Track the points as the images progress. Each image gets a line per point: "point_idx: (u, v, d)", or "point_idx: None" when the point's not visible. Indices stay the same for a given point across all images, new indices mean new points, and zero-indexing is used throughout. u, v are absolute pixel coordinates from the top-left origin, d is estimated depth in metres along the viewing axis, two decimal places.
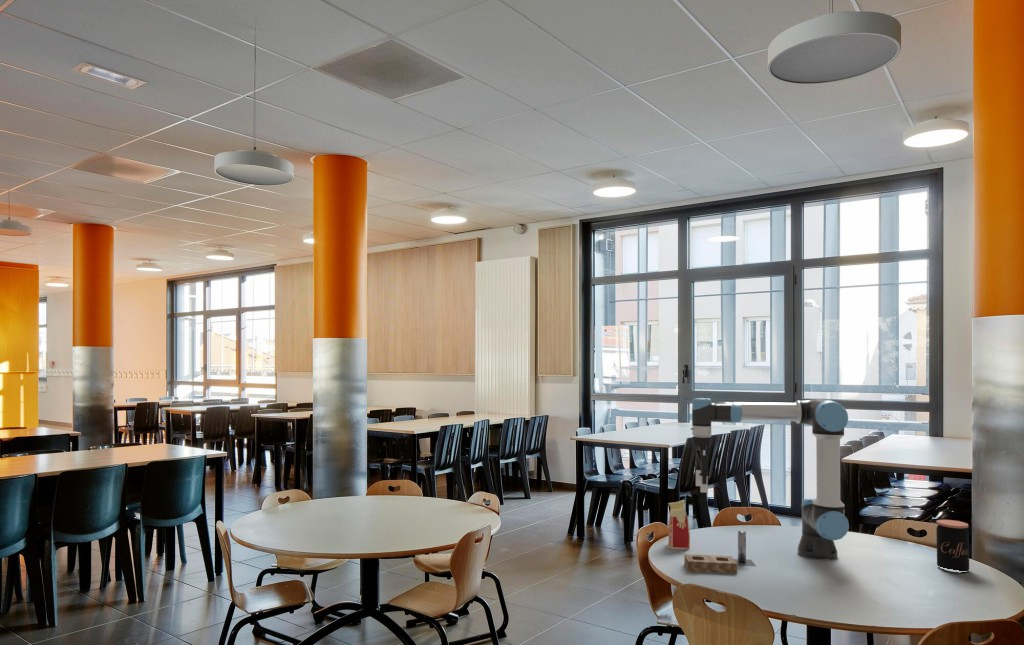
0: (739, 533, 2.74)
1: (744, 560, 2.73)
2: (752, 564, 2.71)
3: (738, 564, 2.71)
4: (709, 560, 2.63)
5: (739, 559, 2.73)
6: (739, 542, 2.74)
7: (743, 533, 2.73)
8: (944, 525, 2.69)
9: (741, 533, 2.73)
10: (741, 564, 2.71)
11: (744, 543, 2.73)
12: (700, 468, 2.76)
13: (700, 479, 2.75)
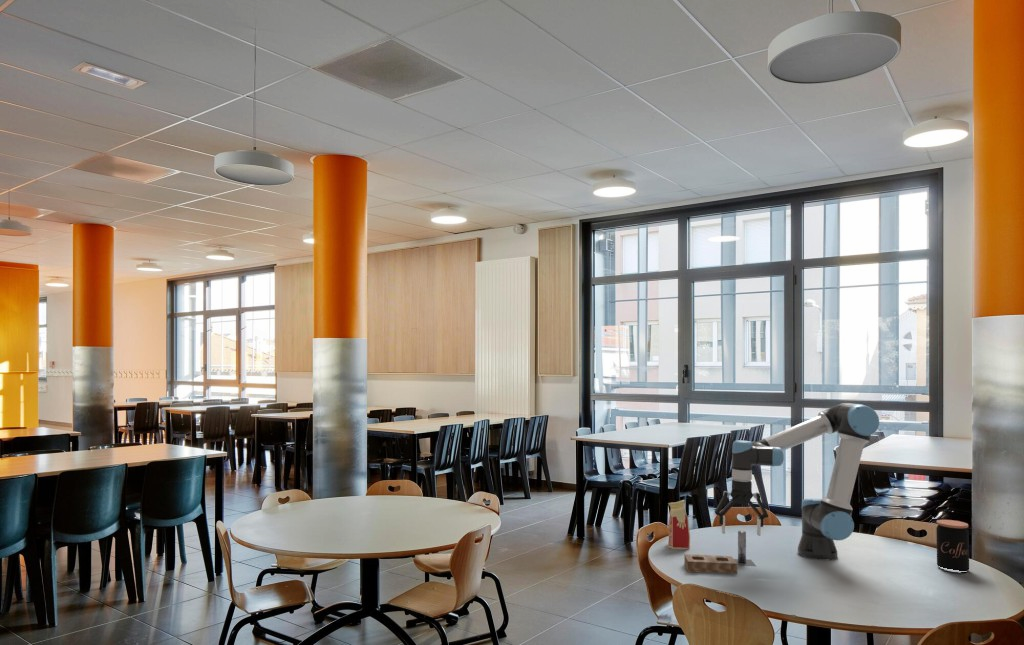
0: (739, 533, 2.74)
1: (744, 560, 2.73)
2: (752, 564, 2.71)
3: (738, 564, 2.71)
4: (709, 560, 2.63)
5: (739, 559, 2.73)
6: (739, 542, 2.74)
7: (743, 533, 2.73)
8: (944, 525, 2.69)
9: (741, 533, 2.73)
10: (741, 564, 2.71)
11: (744, 543, 2.73)
12: None
13: None
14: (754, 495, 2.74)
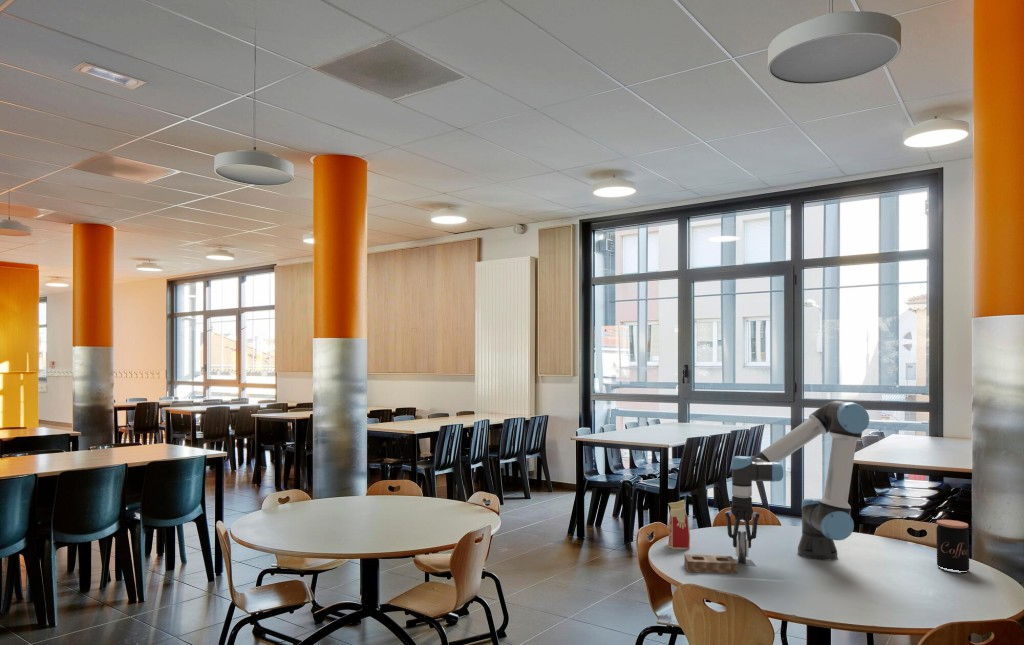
0: (739, 533, 2.74)
1: (744, 560, 2.73)
2: (752, 564, 2.71)
3: (738, 564, 2.71)
4: (709, 560, 2.63)
5: (739, 559, 2.73)
6: (739, 542, 2.74)
7: (743, 533, 2.73)
8: (944, 525, 2.69)
9: (741, 533, 2.73)
10: (741, 564, 2.71)
11: (744, 543, 2.73)
12: None
13: None
14: (754, 513, 2.74)
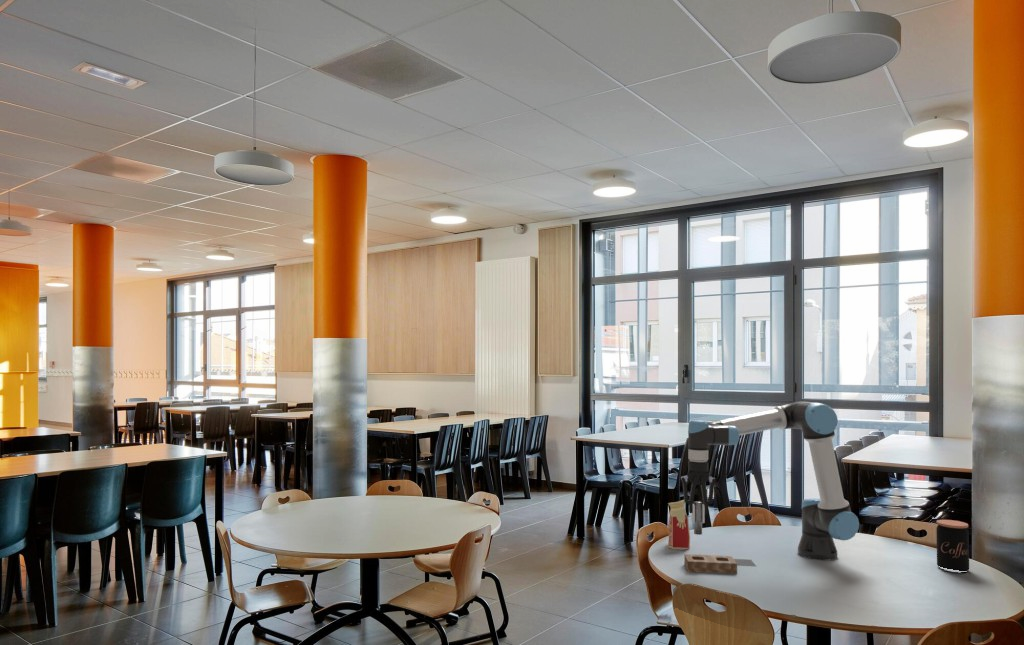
0: (695, 503, 2.67)
1: (700, 531, 2.65)
2: (752, 564, 2.71)
3: (738, 564, 2.71)
4: (709, 560, 2.63)
5: (695, 530, 2.66)
6: (695, 513, 2.66)
7: (699, 503, 2.66)
8: (944, 525, 2.69)
9: (697, 503, 2.66)
10: (741, 564, 2.71)
11: (700, 514, 2.66)
12: None
13: None
14: (710, 478, 2.67)
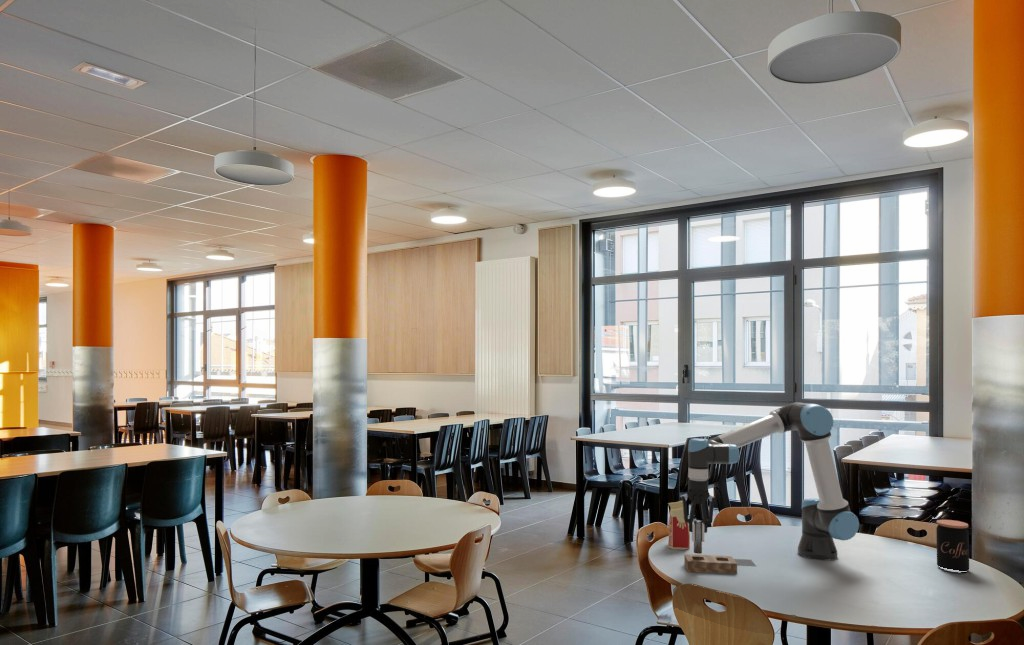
0: (695, 522, 2.66)
1: (700, 550, 2.65)
2: (752, 564, 2.71)
3: (738, 564, 2.71)
4: (709, 560, 2.63)
5: (695, 549, 2.66)
6: (695, 532, 2.66)
7: (699, 522, 2.66)
8: (944, 525, 2.69)
9: (697, 522, 2.66)
10: (741, 564, 2.71)
11: (700, 533, 2.65)
12: None
13: None
14: (710, 497, 2.67)
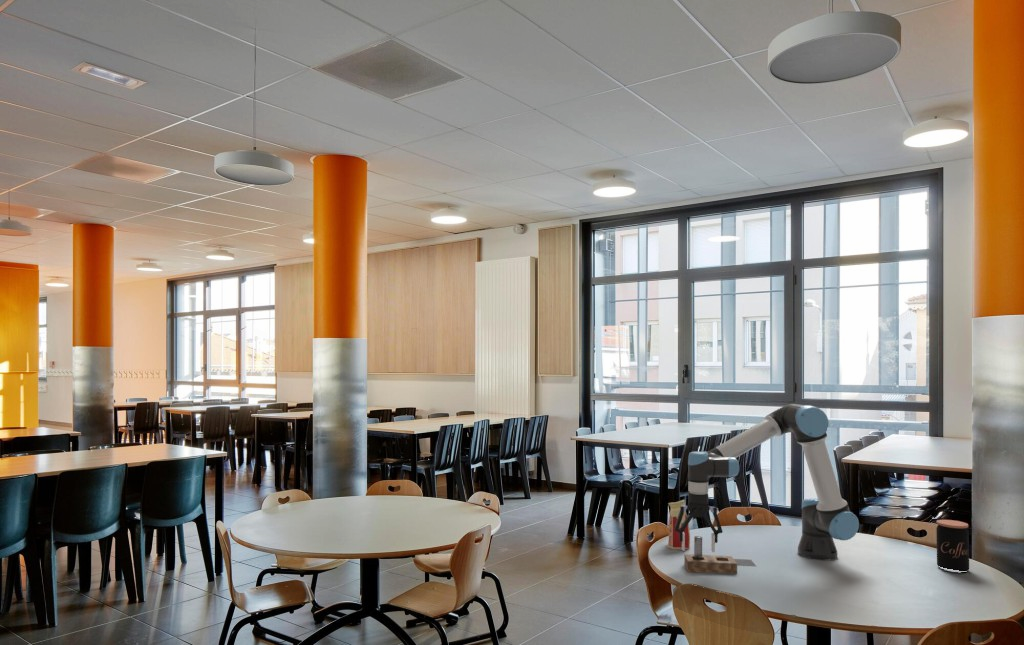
0: (695, 539, 2.66)
1: None
2: (752, 564, 2.71)
3: (738, 564, 2.71)
4: (709, 560, 2.63)
5: None
6: (695, 548, 2.66)
7: (699, 539, 2.65)
8: (944, 525, 2.69)
9: (697, 539, 2.65)
10: (741, 564, 2.71)
11: (700, 549, 2.65)
12: None
13: None
14: (711, 509, 2.66)
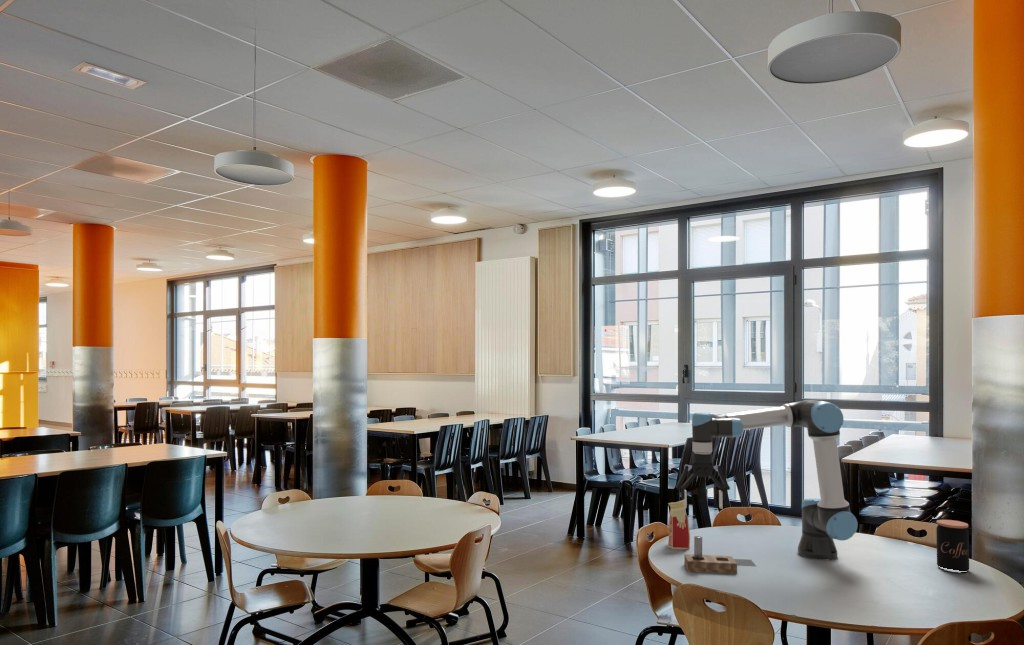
0: (695, 539, 2.66)
1: None
2: (752, 564, 2.71)
3: (738, 564, 2.71)
4: (709, 560, 2.63)
5: None
6: (695, 548, 2.66)
7: (699, 539, 2.65)
8: (944, 525, 2.69)
9: (697, 539, 2.65)
10: (741, 564, 2.71)
11: (700, 549, 2.65)
12: None
13: None
14: (715, 467, 2.70)
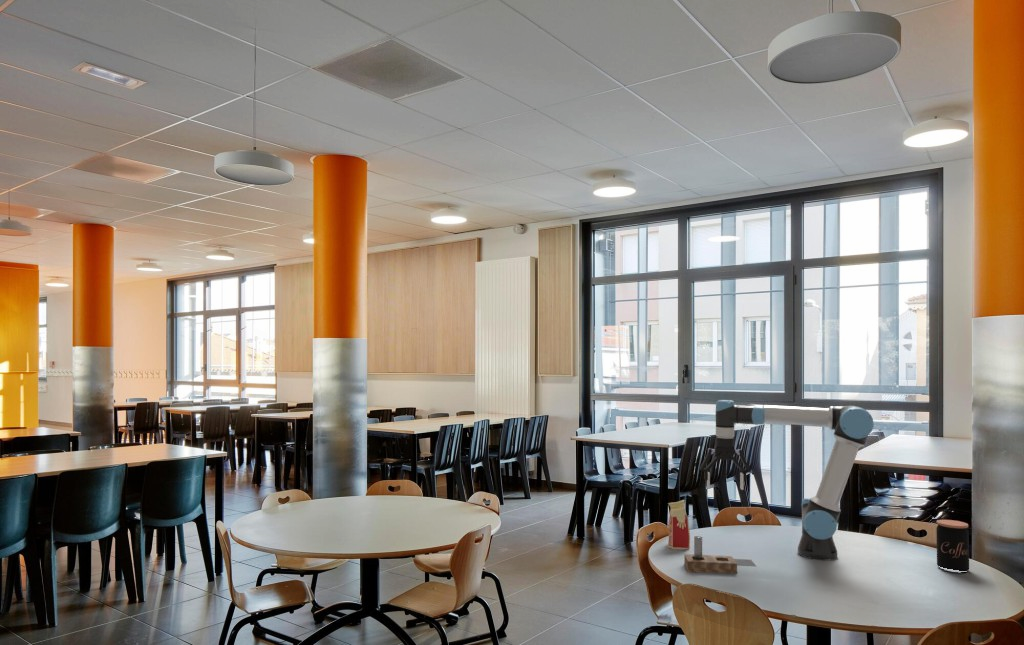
0: (695, 539, 2.66)
1: None
2: (752, 564, 2.71)
3: (738, 564, 2.71)
4: (709, 560, 2.63)
5: None
6: (695, 548, 2.66)
7: (699, 539, 2.65)
8: (944, 525, 2.69)
9: (697, 539, 2.65)
10: (741, 564, 2.71)
11: (700, 549, 2.65)
12: None
13: None
14: (737, 451, 2.89)
